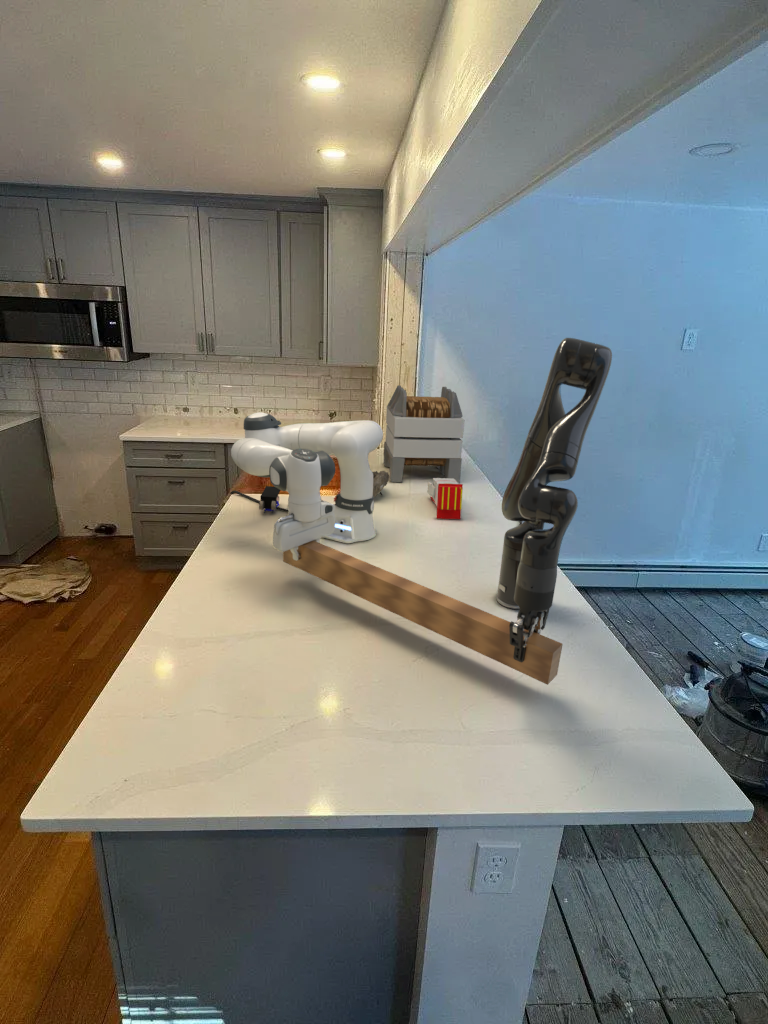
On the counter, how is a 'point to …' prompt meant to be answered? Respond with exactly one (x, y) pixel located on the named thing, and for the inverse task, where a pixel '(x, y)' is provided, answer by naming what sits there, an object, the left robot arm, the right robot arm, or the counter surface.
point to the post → (429, 609)
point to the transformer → (423, 433)
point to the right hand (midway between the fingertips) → (524, 654)
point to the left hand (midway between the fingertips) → (305, 556)
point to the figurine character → (269, 499)
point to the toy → (446, 497)
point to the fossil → (379, 481)
